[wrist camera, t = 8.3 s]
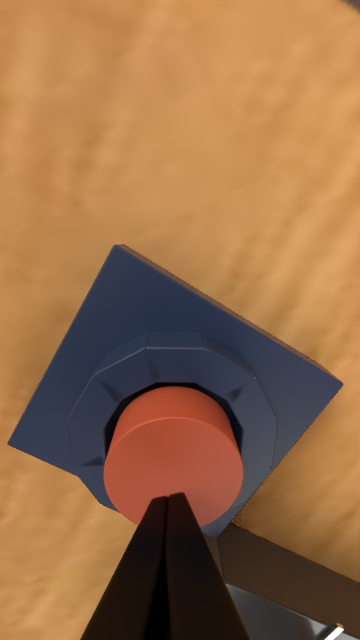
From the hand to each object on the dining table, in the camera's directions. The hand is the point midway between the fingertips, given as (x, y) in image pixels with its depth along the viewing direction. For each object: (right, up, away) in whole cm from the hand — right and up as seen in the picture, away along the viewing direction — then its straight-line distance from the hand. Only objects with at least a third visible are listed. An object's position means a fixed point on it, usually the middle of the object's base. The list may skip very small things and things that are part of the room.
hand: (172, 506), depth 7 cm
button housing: (0, +2, +6) cm, 6 cm away
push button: (0, +1, +2) cm, 3 cm away
